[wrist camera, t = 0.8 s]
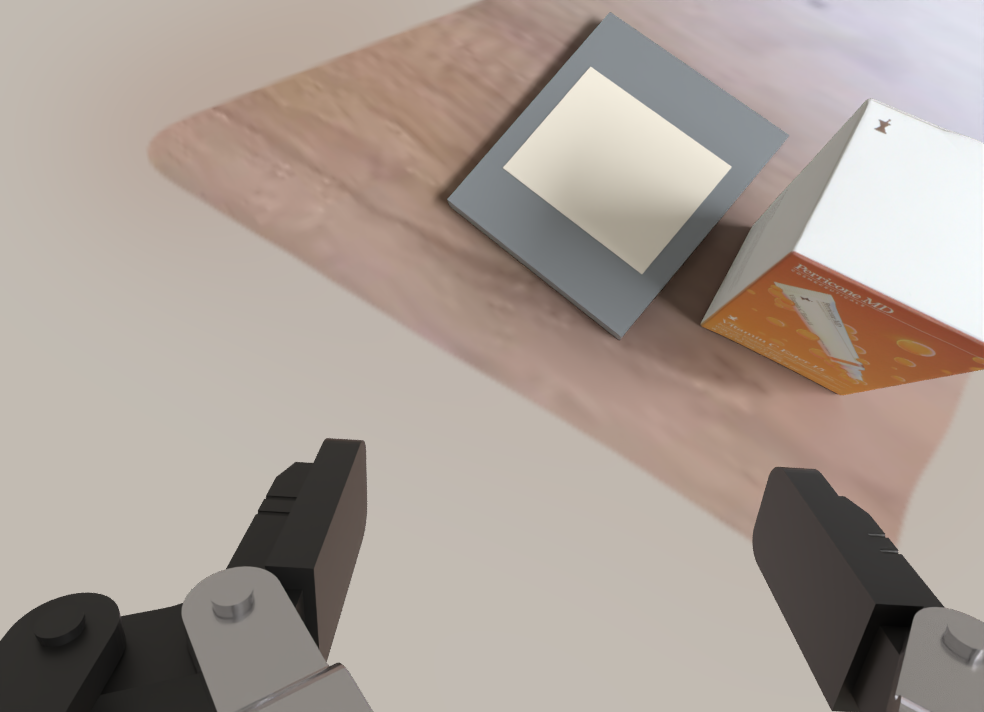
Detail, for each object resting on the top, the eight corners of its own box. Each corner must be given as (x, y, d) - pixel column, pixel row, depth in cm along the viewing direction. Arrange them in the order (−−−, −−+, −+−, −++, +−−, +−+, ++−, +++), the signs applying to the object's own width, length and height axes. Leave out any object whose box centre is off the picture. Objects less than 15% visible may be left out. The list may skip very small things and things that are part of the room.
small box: (696, 327, 34) (786, 250, 21) (750, 224, 35) (869, 89, 22) (842, 401, 33) (1031, 366, 20) (896, 293, 33) (1112, 193, 21)
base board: (608, 23, 37) (610, 11, 36) (782, 144, 35) (789, 134, 34) (449, 206, 36) (446, 198, 35) (619, 340, 34) (621, 336, 33)
